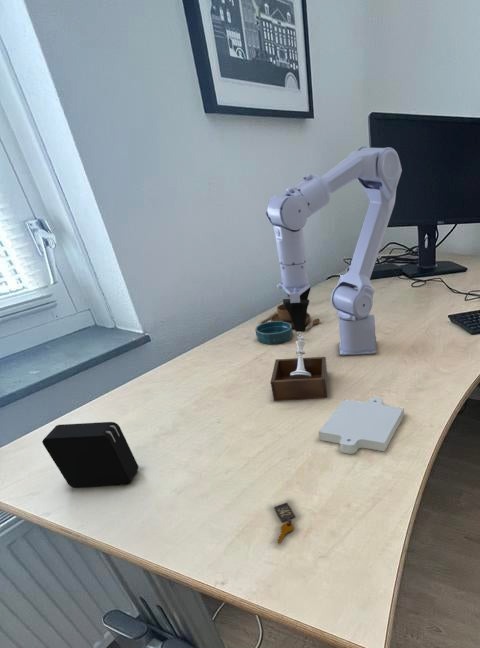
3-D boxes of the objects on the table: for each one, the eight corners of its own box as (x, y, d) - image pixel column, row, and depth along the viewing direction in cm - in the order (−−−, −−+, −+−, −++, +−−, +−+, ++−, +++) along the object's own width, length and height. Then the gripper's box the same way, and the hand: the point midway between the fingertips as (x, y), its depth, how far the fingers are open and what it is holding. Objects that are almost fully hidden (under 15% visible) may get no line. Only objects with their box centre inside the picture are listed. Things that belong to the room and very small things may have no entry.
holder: (327, 374, 104) (325, 356, 102) (327, 397, 96) (325, 378, 93) (278, 377, 104) (275, 359, 101) (274, 400, 95) (270, 382, 92)
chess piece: (307, 373, 96) (306, 328, 96) (286, 375, 97) (285, 330, 97) (314, 379, 101) (314, 336, 101) (295, 380, 102) (294, 337, 102)
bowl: (294, 330, 127) (292, 320, 125) (292, 343, 119) (290, 333, 117) (259, 332, 126) (257, 322, 124) (255, 345, 119) (253, 334, 117)
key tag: (274, 505, 68) (273, 502, 68) (293, 502, 69) (292, 499, 69) (277, 543, 62) (277, 540, 62) (298, 539, 63) (297, 536, 62)
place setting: (255, 325, 130) (250, 305, 127) (290, 305, 145) (287, 286, 141) (305, 333, 125) (303, 312, 121) (336, 311, 139) (335, 292, 136)
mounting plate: (380, 459, 78) (379, 450, 76) (314, 447, 81) (313, 438, 80) (406, 410, 91) (407, 402, 90) (349, 401, 94) (348, 393, 93)
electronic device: (81, 473, 76) (53, 424, 69) (140, 469, 76) (117, 421, 70) (70, 488, 73) (39, 439, 66) (131, 484, 73) (106, 435, 67)
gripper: (276, 254, 98) (286, 315, 107) (270, 271, 87) (281, 337, 96) (308, 253, 99) (314, 314, 107) (306, 270, 87) (313, 336, 96)
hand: (301, 325), depth 101 cm, fingers open, 7 cm apart
